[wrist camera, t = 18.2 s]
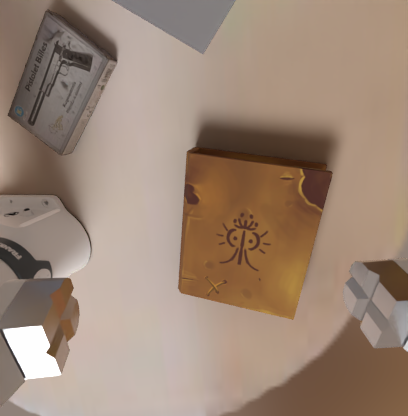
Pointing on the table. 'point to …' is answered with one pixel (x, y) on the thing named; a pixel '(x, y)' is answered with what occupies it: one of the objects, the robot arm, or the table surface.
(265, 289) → the diary
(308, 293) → the table surface
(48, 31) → the box
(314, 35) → the table surface
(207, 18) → the block
